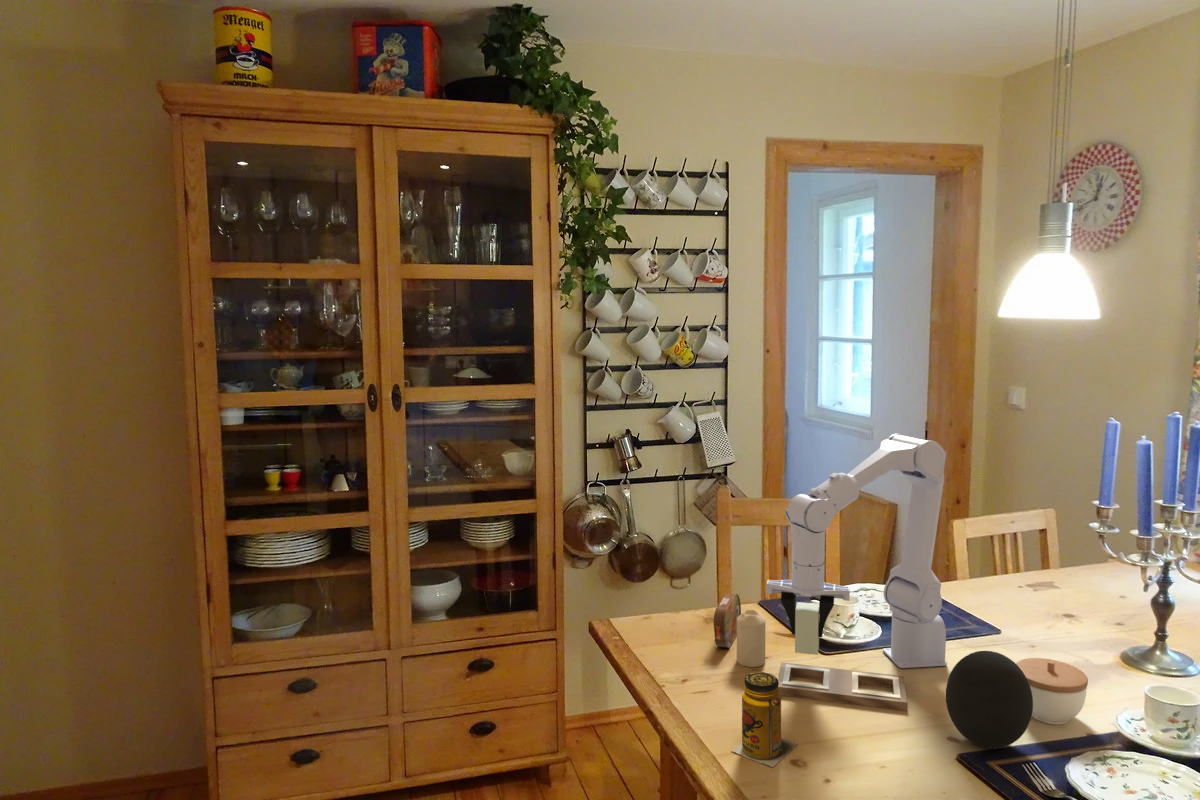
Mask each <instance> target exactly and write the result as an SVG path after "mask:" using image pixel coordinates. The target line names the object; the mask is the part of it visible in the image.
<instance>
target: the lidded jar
mask: <svg viewBox="0 0 1200 800" xmlns="http://www.w3.org/2000/svg"><path fill="white" fill-rule="evenodd" d="M1015 663H1016V664H1017V665H1018V666H1019V668H1020V669H1021V670H1022V671H1023V673H1024V674H1025V676H1026V678H1027V680H1028V682H1029V685H1030V688H1031V691H1032V697H1033V711H1032V717H1031V718H1033V719H1035V720H1036V721H1039V722H1042V723H1045V724H1048V725H1057V726H1058V725H1065V724H1067V723H1069V721H1070V720H1072V719H1074V718H1075V717H1076V716H1078V715H1079V713H1081V711H1082V709H1083V708H1084V706H1085V705H1084V704H1085V701H1086V697H1087V688H1088V685H1089V679H1088V676H1087V675H1086V673H1085V672H1083V671H1082V670H1081V669H1079V668H1078V667H1075V666H1074V665H1071V664H1069V663H1066V662H1063V661H1059V660H1055V659H1050V658H1041V657H1030V658H1029V657H1028V658H1023V659H1021V660H1020V659H1019V660H1018V661H1017V662H1015Z"/></svg>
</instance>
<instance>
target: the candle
mask: <svg viewBox="0 0 1200 800" xmlns="http://www.w3.org/2000/svg"><path fill="white" fill-rule="evenodd" d="M736 661H737V663H738V664H739V665H740V666H743V667H746V668H759V667H762V666H763V665H765V664H766V618H764V617H763V616H762V615H761V613H759V612H758V611H756V610H754V609H752V610H751V609H750V610H748V609H747V610H745V611H744V612H741V615H740V616H739V617H738V618H737V636H736Z"/></svg>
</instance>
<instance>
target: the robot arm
mask: <svg viewBox="0 0 1200 800" xmlns="http://www.w3.org/2000/svg"><path fill="white" fill-rule="evenodd" d="M946 458H947V452H946V451H945V450H944V448H942V446H941V445H940V443H938V442H937V441H935V440H932V439H931V440H930V439H929V440H926V439H922V438H917V437H911V436H907V435H903V434H902V433H894V434H891V435H890V436H888V437H887V439H884V440H882V441H880V444H879V448H878V449H877V450H875V451H874V452H873V453H872V454H870V455H869V456H868V457H867V458H865V459H864V460H863V461H862V462H861V463H859V464H858V465H857V466H855V467H854V468H853V469H852V470H850V471H849V472H848V473H844V472H833V473H831V474H829V476H828V478H827V480H825V481H824V482H822V483H821V484H819V485H818V486H816V487H812V488H811V489H809V492H808V493H806V494H805V493H799V494H797V495H795V496H794V497H792V498H791V499H790V500H789V502H788V505H787V508H786V509H785V510H784V515H785V517H786V520H787V521H788V522H789V524H790V532H791V579H778V580H777V579H774V580H773V579H767V581H766V583H765V585H766V594H767V595H768V594H770V595H772V594H780V603H781V605H782V607H783V608H784V611H785V613H786V616H787V618H788V621H789V626H790V629H791V631H790V632H791V635H794V636H795V610H796V604H797V596H802V597H806V598H807V597H809V598H810V597H816V598H817V597H818V598H819V603H818V604H819V629H818V637H819V638H823V633H824V628H825V625H826V622H827V619H828V617H829V615H830V613H831V611H832V610H833V608H834V606H835V599H839V600H843V601H847V602H849V601H850V597H851V596H850V592H851V589H850V586H845V585H840V584H835V583H829V582H825V557H826V556H825V553H826V552H825V547H826V546H825V545H826V542H825V541H826V540H825V538H826V536H825V535H826V530H827V529H829V527H830V525H831V524H832V523H833V519H834V517H836V516H837V515H836V514H838V513H839V512H841V511H842V510H843V509H844V508H846V507H848V505H850V504H852V503H853V502H854V501H856V500H858V498H859V495H860V490H861V489H862V488H864V487H865V486H867V485H869V484H871V483H873V482H875V480H878V479H880V478H881V477H883V476H884V475H886V474H888V473H889V472H891V471H897V472H900V473H902V474H903V476H905V477H906V479H907V480H908V482H910V484H911V492H910V493H911V494H910V500H909V504H908V505H909V506H908V512H907V513H908V514H907V520H906V526H905V533H904V540H903V541H904V542H903V549H902V554H901V560H900V561H901V562H900V564H898V565H896V566H894V567H893V568H891V569H890V572H889V577H888V580H887V581H886V582H885V585H884V589H883V598H884V601H885V603H887V604H888V605H889V611H890V612H891V635H890V636H891V641H890V642H891V645H890V647H885V648H882V652H883V653H885V655H886V656H888V658H889V659H890V660H891V661H892V662H893V663H894V664H895V665H896V666H897V667H898V668H899V669H911V668H913V669H914V668H926V667H927V668H928V667H929V668H930V667H944V666H948V662H947V661H946V647H947V646H946V645H947V643H946V642H947V630H946V629H947V628H946V625H945V622H944V620H943V618H942V617H941V616H940V615H939V614H940V612H941V609H942V606H943V600H942V593H941V587H942V583H941V581H940V580H939V578H938V577H937V576H936V574H935V572H934V571H933V570H932V564H933V557H934V552H935V551H934V550H935V546H936V545H935V544H936V537H937V529H938V524H939V517H940V510H941V505H942V497H943V492H944V491H943V490H944V484H945V474H944V471H945V464H946Z"/></svg>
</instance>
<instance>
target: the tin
mask: <svg viewBox="0 0 1200 800" xmlns="http://www.w3.org/2000/svg"><path fill="white" fill-rule="evenodd" d="M741 607H742V606H741V599H740V595H739V594H738V593H735V594H734V593H731V594H729V593H725V594H724V595H723V597H722V598H721V600H720V601H719V603H718V605H717V606H716V608H715V610H714V614H713V624H712V625H713V631H714V633H713V634H714V644H715V646H716V647H719V648H727V649H730V648H731V647H732V645H733V644H734V642H735V640H736V639H737V618H738V617H739V616H740V615H741V614H742V608H741Z"/></svg>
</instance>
